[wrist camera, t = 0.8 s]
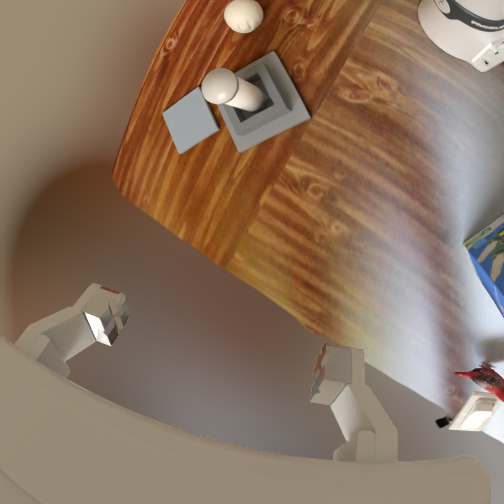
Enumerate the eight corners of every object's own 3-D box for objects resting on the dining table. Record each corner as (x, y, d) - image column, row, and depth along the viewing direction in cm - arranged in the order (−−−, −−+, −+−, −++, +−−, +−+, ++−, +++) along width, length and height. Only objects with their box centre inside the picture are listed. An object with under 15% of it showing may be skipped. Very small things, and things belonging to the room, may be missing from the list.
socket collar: (275, 52, 42) (267, 45, 38) (311, 118, 44) (305, 114, 40) (212, 89, 49) (200, 86, 45) (241, 152, 50) (231, 152, 47)
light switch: (509, 401, 37) (481, 438, 41) (505, 390, 41) (479, 427, 45) (475, 399, 41) (449, 437, 45) (472, 387, 45) (447, 425, 49)
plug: (262, 81, 44) (226, 61, 32) (275, 106, 44) (241, 90, 33) (238, 95, 46) (196, 81, 35) (249, 119, 47) (210, 110, 36)
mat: (200, 87, 49) (198, 86, 49) (220, 129, 51) (217, 129, 50) (164, 113, 54) (162, 113, 53) (181, 153, 55) (178, 154, 55)
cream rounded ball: (235, 41, 44) (218, 29, 38) (234, 11, 41) (217, -2, 36) (270, 34, 41) (255, 20, 35) (267, 4, 39) (253, -11, 33)
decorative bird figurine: (501, 378, 40) (511, 409, 31) (446, 358, 45) (452, 392, 36) (509, 368, 39) (520, 398, 30) (453, 347, 44) (461, 381, 35)
